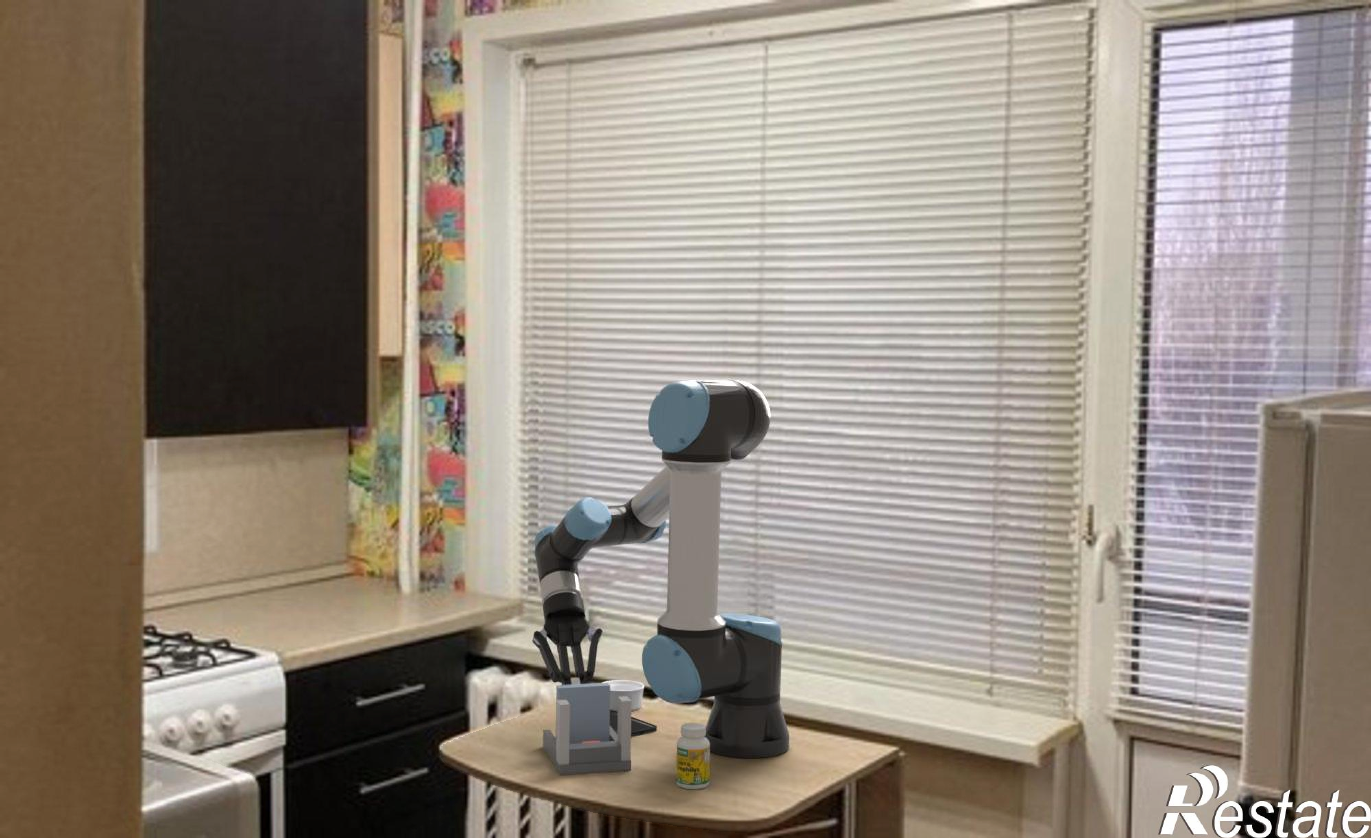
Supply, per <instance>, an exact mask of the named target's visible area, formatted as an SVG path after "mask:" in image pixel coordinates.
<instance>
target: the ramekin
mask: <svg viewBox="0 0 1371 838" xmlns="http://www.w3.org/2000/svg"><path fill="white" fill-rule="evenodd" d="M601 683H608V684H609V685H610V710H614V711H617V712H618V697H624V696H627V697H628V698H629V699H630V700H631V712H633V711H636V710H639V709H640V708H641V707H642V703H643V696H644V689H645V685H644V684H643V682H640V681H634V680H629V679H615V680H606V681H603V682H601Z"/></svg>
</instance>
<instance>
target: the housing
mask: <svg viewBox="0 0 1371 838" xmlns="http://www.w3.org/2000/svg"><path fill="white" fill-rule="evenodd" d="M617 712H618V730H617V734H616V732H615V731H614V730H613V729H612V727H611V726H610V727H609V741H607V742H600V741H585V742H582V743H576V744H569V725H570V704H569V703H568V701H567V700H557V724H556V723H555V735H554V733H553V732H552V731H551V729H543V730H542V734H543V735H542V747H543V749H544V750H545V753H546V754H547V756H548V758H549V759H550V761H551V763H552V764H553V766H554V768H555V770H556V771H557V773H558V775H559V776H563V775H565V776H566V775H577V774H578V775H579V774H580V775H581V774H590V773H594V774H595V773H605V772H606V773H607V772H621V771H631V770H632V760H631V757H632V756H631V755H632V754H631V753H632V751H631V749H632V745H631V744H632V737H631V717H632V711H631V700H630V699H629V698H628V697H627V696H624V697H618V711H617Z"/></svg>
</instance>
